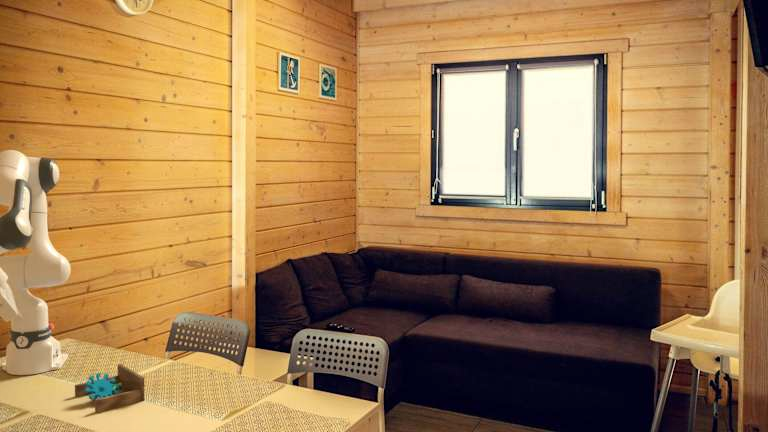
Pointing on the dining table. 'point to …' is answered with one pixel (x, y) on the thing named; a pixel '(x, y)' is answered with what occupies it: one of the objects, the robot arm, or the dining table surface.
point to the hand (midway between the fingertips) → (19, 319)
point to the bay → (133, 393)
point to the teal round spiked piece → (102, 387)
